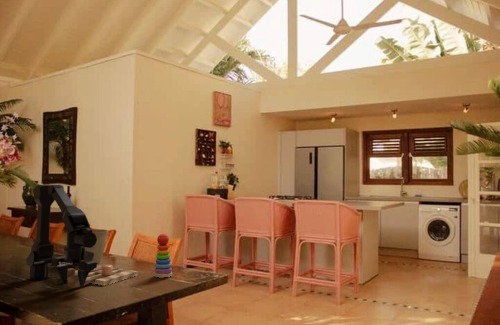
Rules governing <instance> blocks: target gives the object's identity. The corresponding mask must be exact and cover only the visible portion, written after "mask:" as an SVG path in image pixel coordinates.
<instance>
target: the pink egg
mask: <svg viewBox="0 0 500 325" xmlns="http://www.w3.org/2000/svg"><path fill="white" fill-rule="evenodd" d="M101 266H102V272H101V275H112V269H113V268H114V266H113V265H112V264H103V265H101Z"/></svg>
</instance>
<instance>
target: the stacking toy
mask: <svg viewBox="0 0 500 325" xmlns="http://www.w3.org/2000/svg"><path fill="white" fill-rule="evenodd" d="M156 241H157V243H158V245H157V246H156V247H157V251H156V255H155V258H156V260H155V264H154V266H155V268H154V274H153V276H154V277H155V278H157V277H159V279H165V278H164V277H168V278H170V276H171V277H172V275H173V272H172V271H173V268H172V264H171V258H170V256H171V255H170V249H169V246H170V245H169V244H168V243H169V241H170V237H169V236H168V235H167V234H166V233H162V234H161V233H160V234H159V235H158V236H157V238H156Z"/></svg>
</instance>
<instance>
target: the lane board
mask: <svg viewBox="0 0 500 325" xmlns="http://www.w3.org/2000/svg"><path fill="white" fill-rule="evenodd" d="M102 266H103V265H97V268H99V267H102ZM94 269H95V268H94ZM101 272H102V270H99V271H95V272H91V273H89V274H88V276H87V278H90V277H94V276H98V275H101ZM75 273H78V272H77V270H75ZM112 273H115V274H114V275H110V276H107V277H103V278H100V279H96V280H95V282H91V283H92V284H91V285H95V284H98V285H97V286H100V285H102V286H101V287H106V286H109V285H113V284H116V283H119V282H122V281H121V280H123V281H125V280H124V279H126V280H128V279H127V278H129V279H131V278H130V277H133V278H135V277H134V276H136V277H138V276H139V270H137V271H136V270H132V269H131V270H130V269H129V270H126V271H124V269H123V268H118V267H113V269H112ZM137 275H138V276H137ZM67 281H68V279H67ZM118 281H119V282H118ZM115 282H116V283H115ZM112 283H113V284H112ZM108 284H109V285H108ZM105 285H106V286H105Z"/></svg>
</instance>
